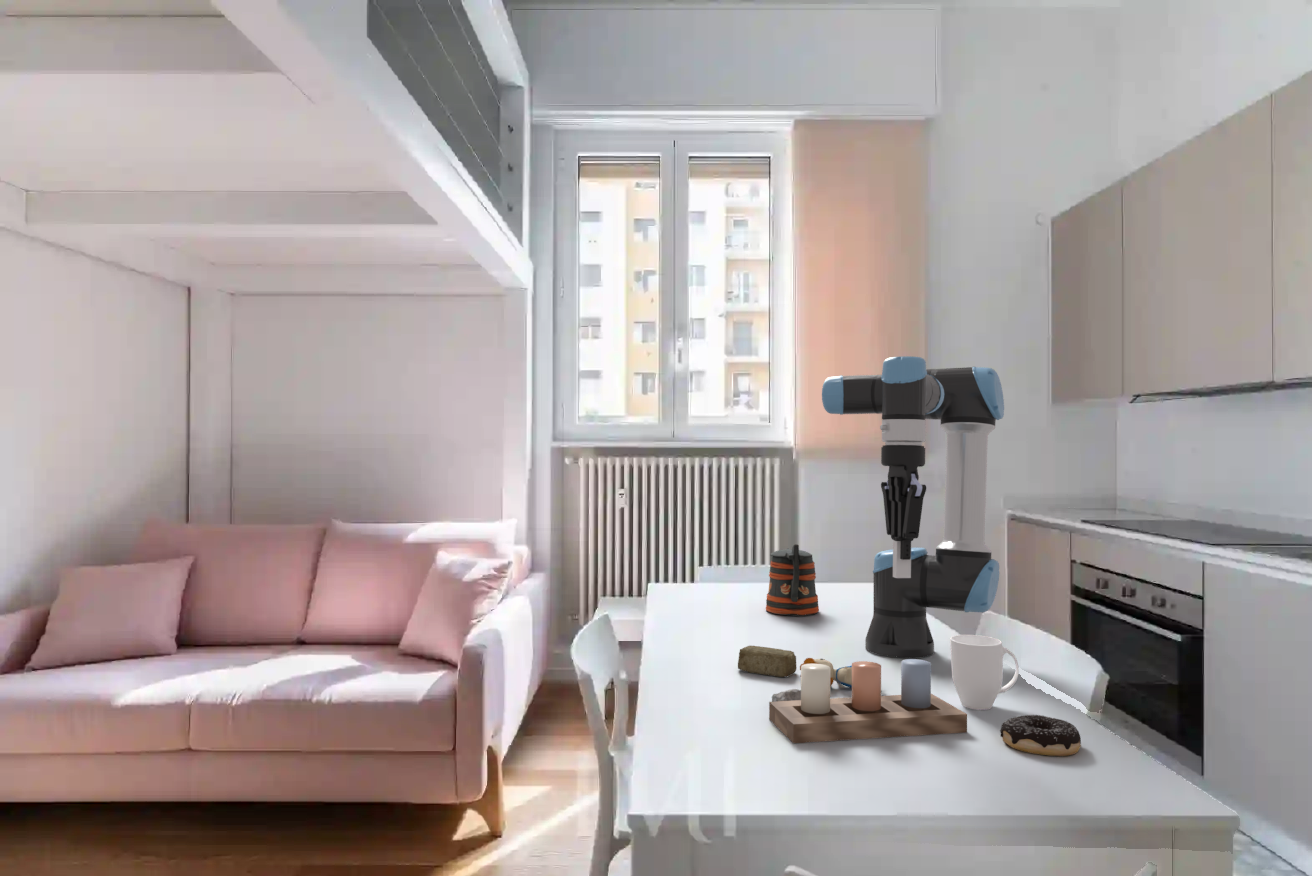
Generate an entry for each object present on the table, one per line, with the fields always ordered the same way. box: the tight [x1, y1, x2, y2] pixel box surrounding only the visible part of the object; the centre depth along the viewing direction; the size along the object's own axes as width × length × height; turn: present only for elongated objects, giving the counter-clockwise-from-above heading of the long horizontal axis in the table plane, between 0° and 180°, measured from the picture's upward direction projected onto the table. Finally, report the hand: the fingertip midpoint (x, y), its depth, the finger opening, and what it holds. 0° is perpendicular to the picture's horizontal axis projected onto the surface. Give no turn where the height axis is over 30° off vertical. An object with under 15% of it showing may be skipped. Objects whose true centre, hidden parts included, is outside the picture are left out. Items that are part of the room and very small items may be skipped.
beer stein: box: [765, 543, 820, 617], centre depth 242 cm, size 19×15×20 cm
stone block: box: [737, 645, 797, 678], centre depth 181 cm, size 6×12×5 cm, turn 60°
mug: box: [949, 634, 1020, 711], centre depth 159 cm, size 12×9×12 cm
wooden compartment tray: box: [768, 693, 968, 744], centre depth 147 cm, size 30×12×3 cm, turn 101°
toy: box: [799, 657, 852, 689], centre depth 169 cm, size 12×6×15 cm
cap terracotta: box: [851, 660, 882, 711], centre depth 147 cm, size 5×5×7 cm
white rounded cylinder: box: [800, 664, 831, 714], centre depth 145 cm, size 5×5×7 cm
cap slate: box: [900, 658, 932, 708], centre depth 149 cm, size 5×5×7 cm
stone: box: [771, 688, 801, 702], centre depth 157 cm, size 6×12×4 cm, turn 138°
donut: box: [999, 714, 1082, 757], centre depth 138 cm, size 11×12×4 cm
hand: (901, 577), depth 155 cm, fingers closed
